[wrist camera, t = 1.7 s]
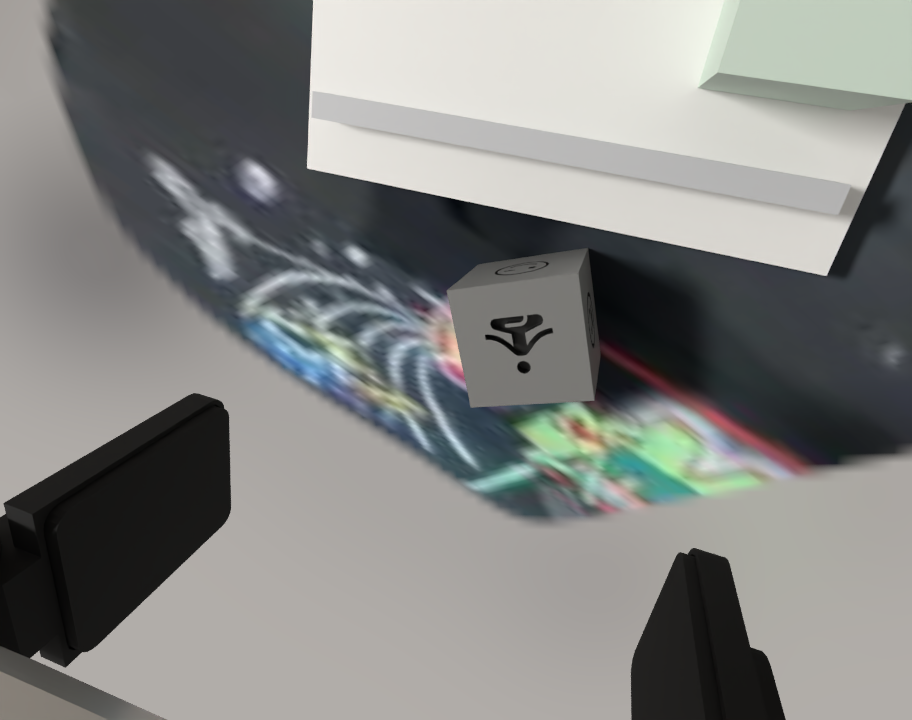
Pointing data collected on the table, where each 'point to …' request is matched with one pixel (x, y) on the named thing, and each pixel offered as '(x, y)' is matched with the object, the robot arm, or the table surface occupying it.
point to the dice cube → (528, 330)
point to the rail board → (621, 111)
